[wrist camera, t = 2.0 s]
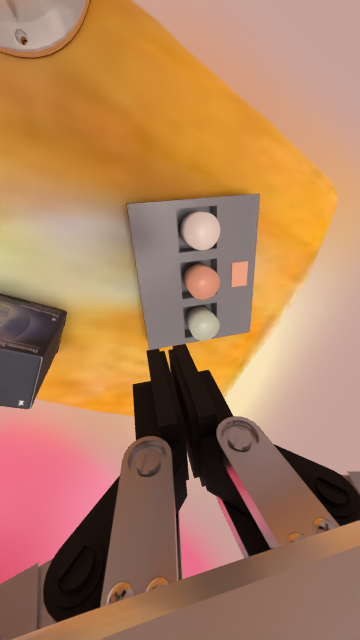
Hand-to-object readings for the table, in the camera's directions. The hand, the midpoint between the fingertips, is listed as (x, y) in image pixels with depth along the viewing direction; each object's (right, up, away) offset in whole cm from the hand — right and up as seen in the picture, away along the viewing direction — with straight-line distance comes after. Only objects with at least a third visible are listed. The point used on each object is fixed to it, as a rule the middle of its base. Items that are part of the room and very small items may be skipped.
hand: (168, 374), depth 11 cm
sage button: (+3, +3, +21) cm, 21 cm away
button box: (+2, +8, +20) cm, 22 cm away
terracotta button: (+3, +7, +18) cm, 20 cm away
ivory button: (+2, +12, +16) cm, 20 cm away
